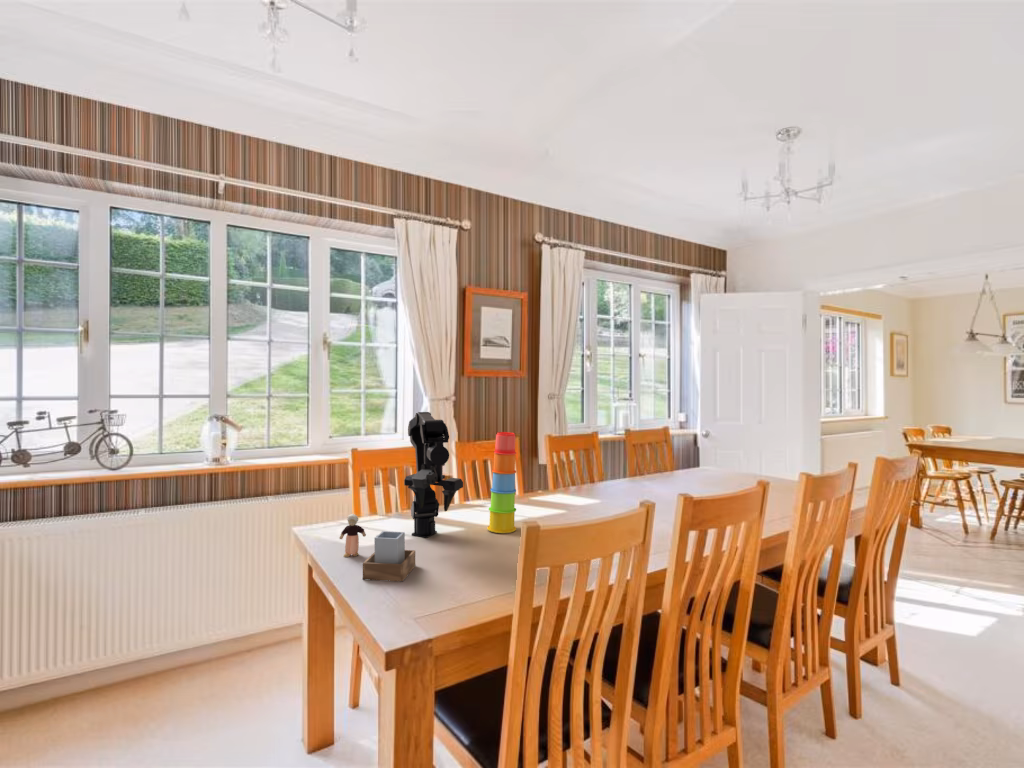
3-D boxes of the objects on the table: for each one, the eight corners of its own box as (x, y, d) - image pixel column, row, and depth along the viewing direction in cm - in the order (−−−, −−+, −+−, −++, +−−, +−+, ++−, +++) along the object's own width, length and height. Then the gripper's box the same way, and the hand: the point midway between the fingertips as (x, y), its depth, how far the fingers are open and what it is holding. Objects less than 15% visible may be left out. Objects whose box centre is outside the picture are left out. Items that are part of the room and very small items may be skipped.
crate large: (378, 564, 149) (378, 548, 148) (415, 565, 147) (415, 550, 147) (362, 579, 137) (362, 563, 137) (402, 581, 136) (402, 564, 136)
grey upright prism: (382, 565, 146) (382, 531, 145) (404, 566, 145) (404, 532, 145) (374, 574, 140) (374, 537, 139) (397, 575, 139) (397, 538, 139)
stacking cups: (490, 524, 187) (490, 430, 186) (518, 526, 185) (518, 431, 184) (484, 533, 177) (484, 434, 176) (513, 535, 175) (513, 434, 174)
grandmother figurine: (341, 559, 152) (340, 517, 152) (339, 555, 156) (338, 514, 156) (367, 554, 156) (366, 513, 156) (364, 551, 159) (364, 510, 159)
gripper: (392, 461, 156) (393, 512, 156) (444, 466, 148) (444, 519, 148) (414, 456, 166) (414, 503, 166) (464, 460, 158) (464, 510, 158)
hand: (433, 509), depth 160 cm, fingers open, 9 cm apart
